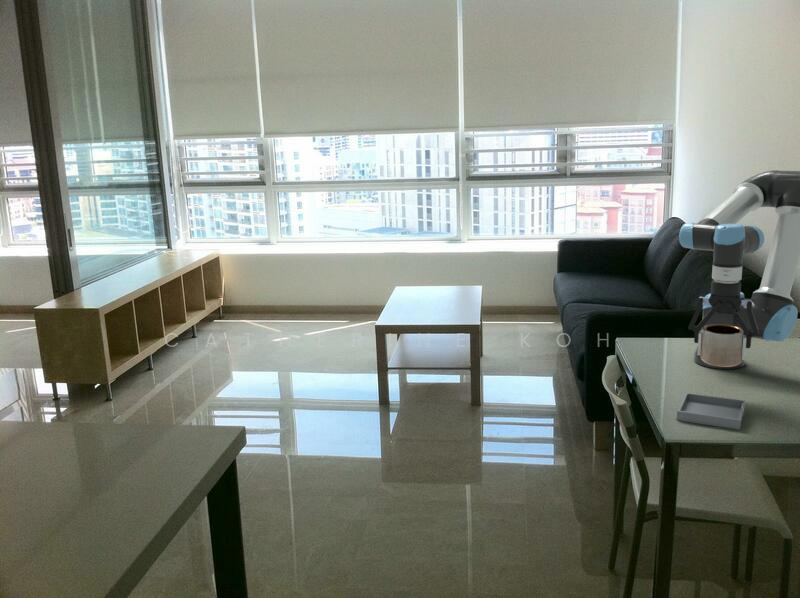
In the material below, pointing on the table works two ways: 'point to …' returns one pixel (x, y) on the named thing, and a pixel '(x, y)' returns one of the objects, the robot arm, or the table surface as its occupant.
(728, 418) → the tray
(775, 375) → the table surface
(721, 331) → the planter
